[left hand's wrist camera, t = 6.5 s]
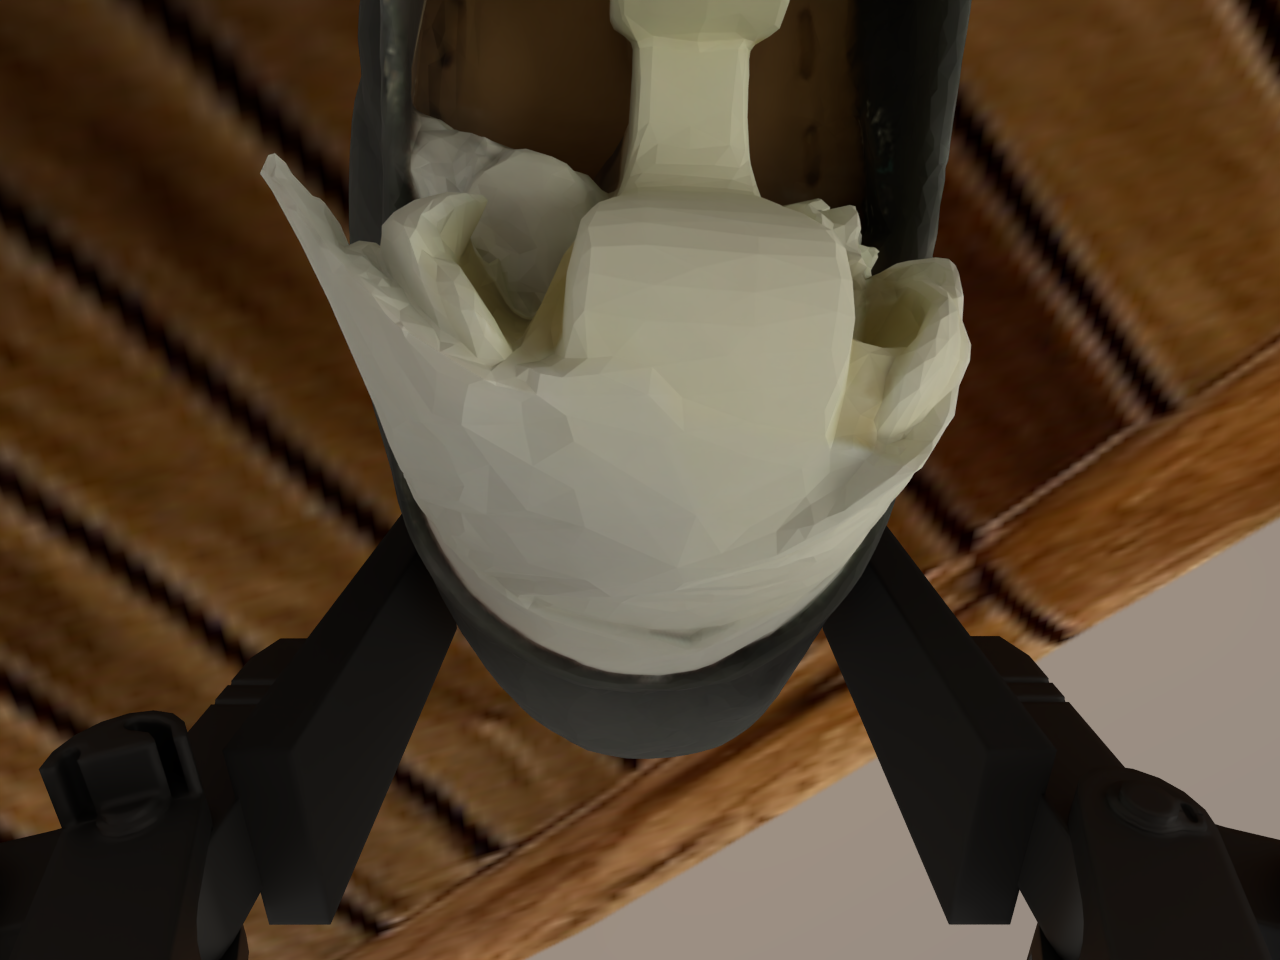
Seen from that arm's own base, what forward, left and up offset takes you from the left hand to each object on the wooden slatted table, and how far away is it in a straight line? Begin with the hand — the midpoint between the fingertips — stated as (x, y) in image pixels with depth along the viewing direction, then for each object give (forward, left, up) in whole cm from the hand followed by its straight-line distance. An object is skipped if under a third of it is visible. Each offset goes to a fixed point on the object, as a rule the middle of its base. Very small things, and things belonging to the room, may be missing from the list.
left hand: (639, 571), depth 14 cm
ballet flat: (-6, +6, 0) cm, 8 cm away
